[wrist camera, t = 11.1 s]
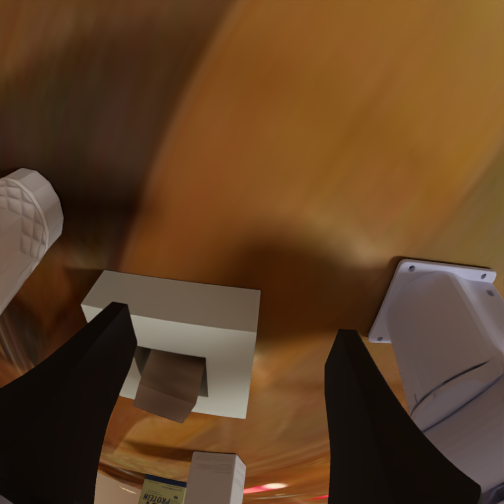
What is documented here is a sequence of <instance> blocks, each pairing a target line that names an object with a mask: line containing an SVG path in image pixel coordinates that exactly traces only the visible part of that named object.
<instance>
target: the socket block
mask: <svg viewBox="0 0 504 504" xmlns="http://www.w3.org/2000/svg"><path fill="white" fill-rule="evenodd" d="M260 294H261V290H254V289H245V288H236V287H227V286H219V285H210V284H202V283H194V282H186V281H178V280H171V279H163V278H156V277H148V276H141V275H134V274H127V273H120V272H114V271H107V270H104V271H103V273H102V274H101V276H100V277H99V278H98V280H97V281H96V283H95V284H94V286H93V287H92V289H91V290H90V291H89V293H88V294H87V296H86V297H85V299H84V300H83V302H82V303H81V306H82V309H83V312H84V314H85V317H86V320H87V322H88V323H89V322H90V321H91V320H92V319H93V318H94V317H95V316H96V315H97V314H99V313H100V312H101V311H102V310H103V309H104V308H105V307H106V306H108V305H109V304H110V303H111V302H112V301H114V302H119V303H125V304H128V308H129V312H130V316H131V320H132V324H133V327H134V331H135V335H136V338H137V342H138V343H137V347H136V350H135V354H134V357H133V361H132V364H131V367H130V370H129V372H128V375H127V377H126V379H125V382H124V384H123V387H122V389H121V391H120V394H119V395H120V396H123V397H127V398H131V399H135V396H136V392H137V389H138V385H139V382H140V379H141V376H142V374H143V371H144V368H145V366H146V363H147V360H148V358H149V355H150V352H151V350H152V349H157V350H162V351H168V352H174V353H180V354H186V355H192V356H198V357H205V358H206V362H205V367H204V371H203V375H202V380H201V384H200V389H199V393H198V398H197V402H196V405H195V407H194V408H193V409H192V411H193V412H199V413H205V414H212V415H219V416H226V417H234V418H243V419H245V418H246V411H247V403H248V396H249V388H250V381H251V373H252V366H253V358H254V350H255V343H256V335H257V325H258V315H259V304H260Z"/></svg>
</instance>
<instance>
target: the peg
mask: <svg viewBox="0 0 504 504" xmlns="http://www.w3.org/2000/svg"><path fill="white" fill-rule="evenodd" d="M205 362H206V358H205V357H198V356H192V355H186V354H180V353H174V352H168V351H162V350H157V349H152V350H151V352H150V355H149V358H148V360H147V363H146V366H145V368H144V371H143V374H142V376H141V379H140V382H139V385H138V389H137V392H136V396H135V400H134V403H133V406H135V407H137V408H140V409H142V410H145V411H148V412H150V413H153V414H156V415H158V416H161V417H164V418H167V419H170V420H173V421H176V422H179V423H183V422H184V421H185V419H186V418H187V416H188V415H189V414H190V412H191V411H192V409H193V408H194V407H195V405H196V402H197V398H198V393H199V389H200V384H201V380H202V375H203V371H204V367H205Z"/></svg>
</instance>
